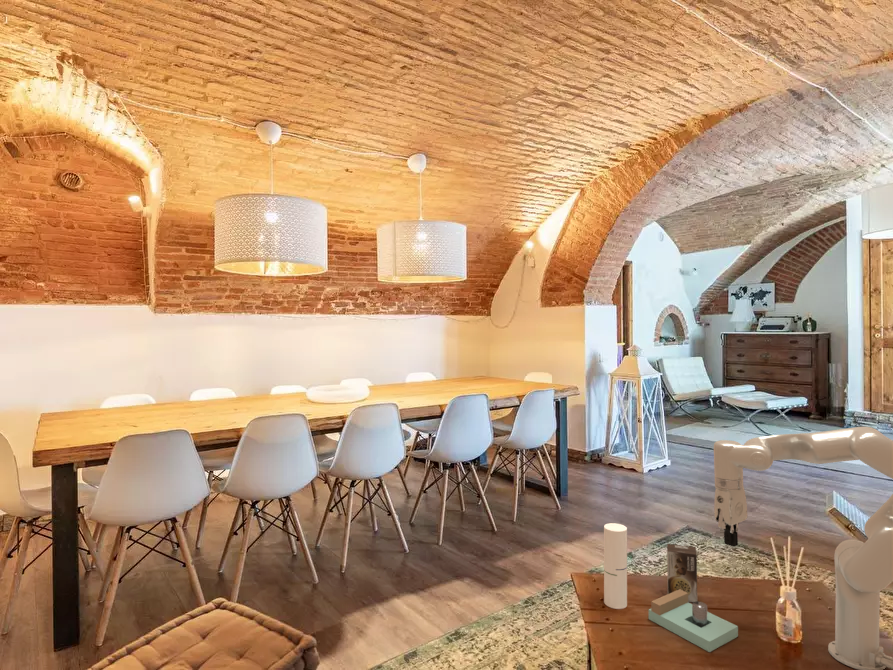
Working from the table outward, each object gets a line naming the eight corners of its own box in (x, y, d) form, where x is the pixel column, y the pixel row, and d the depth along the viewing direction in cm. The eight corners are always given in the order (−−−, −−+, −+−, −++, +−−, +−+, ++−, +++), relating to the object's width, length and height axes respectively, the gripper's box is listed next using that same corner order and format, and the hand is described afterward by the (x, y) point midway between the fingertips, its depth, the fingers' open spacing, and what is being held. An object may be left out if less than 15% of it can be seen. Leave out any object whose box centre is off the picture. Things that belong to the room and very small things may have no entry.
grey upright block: (710, 632, 160) (710, 605, 160) (702, 637, 158) (702, 609, 158) (697, 626, 163) (697, 600, 163) (689, 630, 161) (689, 603, 161)
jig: (737, 636, 158) (738, 616, 158) (709, 652, 150) (709, 631, 150) (676, 606, 175) (676, 587, 175) (648, 619, 167) (648, 599, 167)
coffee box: (696, 594, 182) (696, 546, 182) (697, 603, 176) (697, 554, 176) (667, 589, 186) (667, 542, 185) (667, 598, 180) (667, 550, 179)
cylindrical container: (630, 608, 173) (629, 531, 173) (607, 608, 174) (607, 531, 173) (623, 597, 181) (623, 523, 180) (601, 597, 181) (601, 523, 180)
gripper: (727, 490, 154) (729, 555, 154) (755, 481, 162) (757, 542, 162) (702, 485, 160) (704, 547, 160) (730, 476, 168) (732, 535, 168)
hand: (731, 544), depth 161 cm, fingers closed
